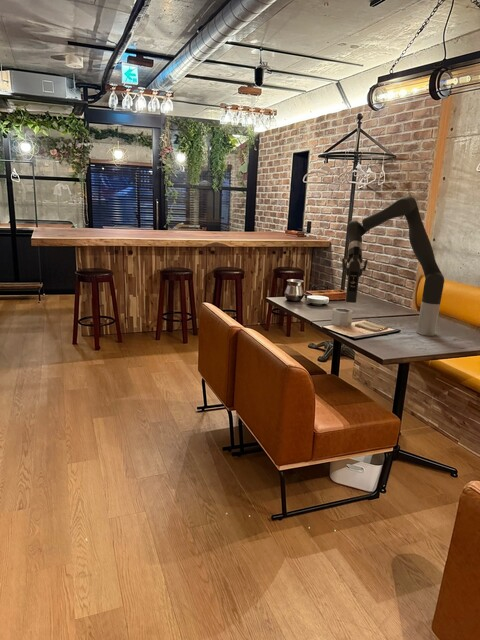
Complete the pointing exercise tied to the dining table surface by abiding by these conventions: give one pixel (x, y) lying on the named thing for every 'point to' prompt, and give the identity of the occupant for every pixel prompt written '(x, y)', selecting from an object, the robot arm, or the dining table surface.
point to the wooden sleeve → (342, 317)
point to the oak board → (371, 325)
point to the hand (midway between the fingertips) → (353, 275)
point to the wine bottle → (353, 277)
